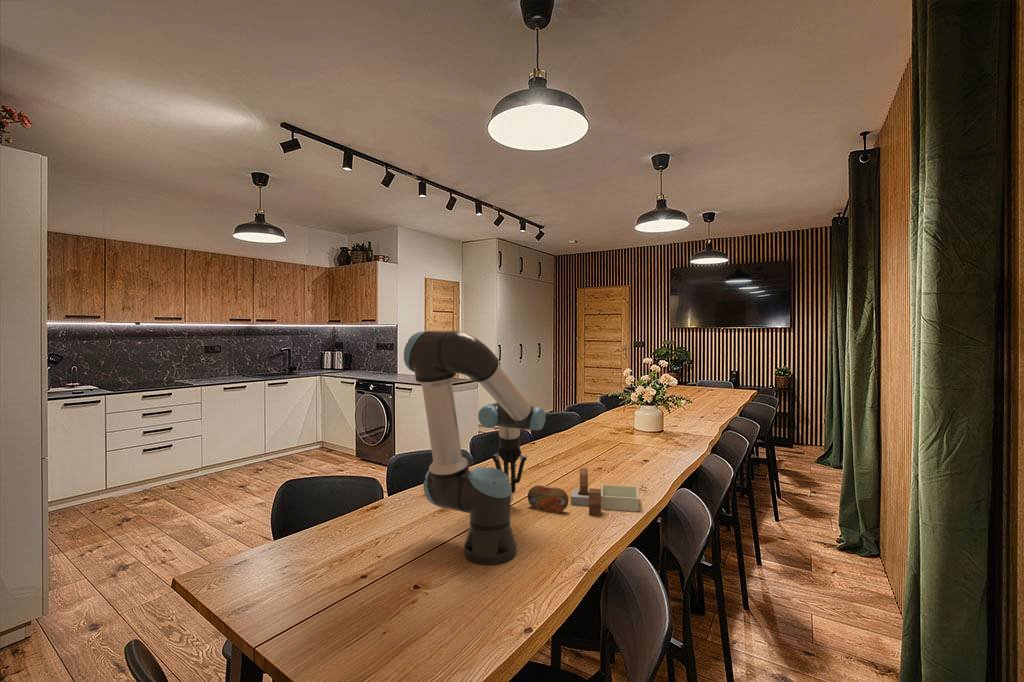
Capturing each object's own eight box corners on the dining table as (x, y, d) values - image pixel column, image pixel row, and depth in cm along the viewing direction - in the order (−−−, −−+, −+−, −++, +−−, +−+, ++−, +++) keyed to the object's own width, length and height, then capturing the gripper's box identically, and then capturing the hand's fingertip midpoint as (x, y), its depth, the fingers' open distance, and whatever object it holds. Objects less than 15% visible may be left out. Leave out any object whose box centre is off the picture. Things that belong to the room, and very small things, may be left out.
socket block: (595, 506, 173) (595, 498, 173) (570, 504, 175) (570, 496, 175) (596, 498, 182) (596, 490, 182) (572, 496, 184) (572, 488, 184)
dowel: (587, 503, 177) (587, 470, 177) (579, 502, 177) (579, 470, 177) (588, 500, 180) (588, 468, 179) (580, 499, 180) (580, 468, 180)
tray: (638, 511, 168) (638, 498, 168) (600, 508, 171) (600, 496, 171) (637, 498, 181) (637, 486, 181) (601, 496, 184) (601, 484, 184)
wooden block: (600, 515, 164) (600, 492, 164) (589, 514, 165) (588, 492, 165) (600, 511, 168) (600, 488, 168) (589, 510, 169) (589, 488, 169)
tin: (527, 508, 172) (527, 484, 172) (531, 505, 175) (530, 482, 175) (566, 515, 165) (566, 491, 165) (569, 512, 168) (569, 488, 168)
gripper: (528, 435, 175) (529, 498, 176) (494, 433, 178) (495, 496, 178) (525, 439, 168) (525, 506, 168) (489, 438, 170) (490, 503, 171)
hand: (510, 501), depth 173 cm, fingers closed
